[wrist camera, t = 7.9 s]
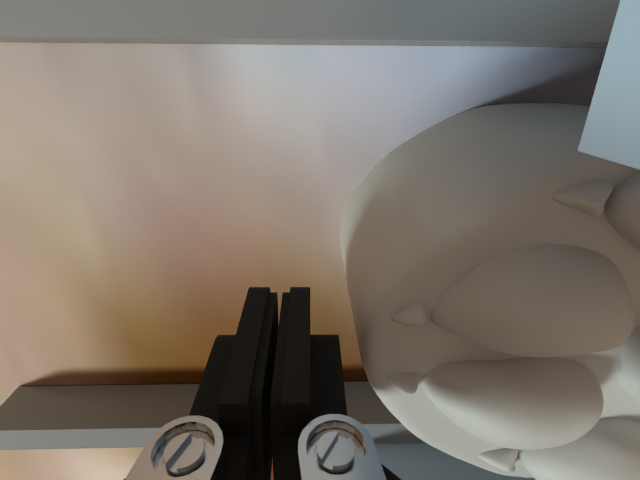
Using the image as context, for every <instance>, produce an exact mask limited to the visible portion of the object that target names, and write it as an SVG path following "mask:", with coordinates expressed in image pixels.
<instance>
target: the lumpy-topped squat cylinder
mask: <svg viewBox="0 0 640 480" xmlns="http://www.w3.org/2000/svg"><path fill="white" fill-rule="evenodd" d="M589 109H590V106H586V105H578V104H566V103H512V104H498V105H489V106H482V107H477V108H473V109H470V110H466V111H464V112H461V113H459V114H456V115H454V116H452V117H450V118H448V119H446V120H444V121H442V122H440V123H438V124H436V125H434V126H433V127H431V128H429V129H427V130H425V131H424V132H422V133H420V134H418V135H417V136H415V137H413V138H412V139H410V140H408V141H407V142H405V143H404V144H402V145H401V146H399V147H398V148H396V149H395V150H393V151H392V152H391V153H389V154H388V155H387V156H386V157H385V158H384V159H382V160H381V161H380V162H379V163H378V164H377V165H376V166H375V168H374V169H373V170H372V171H371V172H370V173H369V174H368V175H367V176H366V178H365V179H364V180H363V181H362V182H361V184H360V185H359V186H358V188H357V189H356V190H355V192H354V193H353V195H352V197H351V198H350V200H349V202H348V204H347V206H346V208H345V210H344V213H343V216H342V220H341V225H340V246H341V252H342V257H343V263H344V269H345V274H346V280H347V286H348V291H349V296H350V301H351V306H352V312H353V317H354V323H355V329H356V334H357V339H358V344H359V350H360V355H361V360H362V363H363V366H364V369H365V372H366V375H367V378H368V380H369V383H370V384H371V386H372V388H373V389H374V391H375V392H376V394H377V395H378V397H379V398H380V400H381V401H382V402H383V404H384V405H385V406H386V407H387V409H388V410H389V411H390V412H391V413H392V414H393V415H394V416H395V417H396V418H397V419H398V420H399V421H400V422H401V423H402V424H403V425H404V426H405V427H406V428H407V429H408V430H409V431H410V432H411V433H413V434H414V435H415V436H417V437H418V438H419V439H421V440H423V441H424V442H426V443H427V444H429V445H431V446H433V447H435V448H437V449H439V450H441V451H443V452H445V453H447V454H449V455H451V456H453V457H455V458H458V459H460V460H463V461H465V462H468V463H470V464H473V465H475V466H478V467H480V468H483V469H485V470H488V471H491V472H494V473H497V474H501V475H506V476H515V477H525V478H535V479H536V480H640V170H639V169H636V168H633V167H629V166H626V165H623V164H619V163H616V162H613V161H610V160H606V159H603V158H600V157H596V156H593V155H590V154H586V153H583V152H580V151H578V147H579V144H580V140H581V137H582V133H583V130H584V126H585V123H586V119H587V116H588V112H589Z"/></svg>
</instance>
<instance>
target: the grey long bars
mask: <svg viewBox="0 0 640 480" xmlns="http://www.w3.org/2000/svg"><path fill="white" fill-rule="evenodd" d="M619 3H620V0H0V42H51V43H166V44H281V45H396V46H511V47H607V45H608V42H609V38H610V35H611V31H612V28H613V24H614V21H615V17H616V14H617V10H618V7H619ZM199 385H200V384H158V385H89V386H21V387H18V388H17V389H16V390H15V391H14V392H13V393H12V395H11V396H10V397H9V398H8V399H7V400H6V401H5V402H4V403H3V404H2V405H1V407H0V450H22V449H75V448H127V447H145V445H146V444H147V442H148V441H149V440H150V439H151V437H152V436H153V435H154V433H155V432H157V431H158V430H159V429H160V428H162V427H163V426H164V425H165V424H167V423H169V422H171V421H173V420H175V419H178V418H182V417H185V416H189V414H190V411H191V408H192V405H193V402H194V399H195V396H196V393H197V391H198V388H199ZM344 388H345V398H346V407H347V416H349V417H352V418H353V419H355V420H357V421H359V422H360V423H361V424H362V425H363V426H364V427H365V428H366V429H367V430H368V432H369V434H370V435H371V437H372V439H373V442H374V443H392V442H424V441H423V440H421V439H419V438H418V437H417V436H415V435H414V434H413V433H411V432H410V431H409V430H408V429H407V428H406V427H405V426H404V425H403V424H402V423H401V422H400V421H399V420H398V419H397V418H396V417H395V416H394V415H393V414H392V413H391V412H390V411H389V410H388V409H387V407H386V406H385V405H384V404H383V402H382V401H381V400H380V398H379V397H378V395H377V394H376V392H375V391H374V389H373V388H372V386H371V384H370V383H369V381H363V382H344Z"/></svg>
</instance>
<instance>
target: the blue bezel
mask: <svg viewBox="0 0 640 480" xmlns="http://www.w3.org/2000/svg"><path fill="white" fill-rule="evenodd" d="M578 151H580V152H583V153H586V154H590V155H593V156H596V157H600V158H603V159H606V160H610V161H613V162H616V163H619V164H623V165H626V166H629V167H633V168H636V169H639V170H640V0H620V3H619V7H618V10H617V14H616V17H615V21H614V24H613V28H612V31H611V35H610V38H609V42H608V45H607V49H606V52H605V56H604V59H603V63H602V66H601V70H600V74H599V77H598V81H597V84H596V88H595V91H594V95H593V98H592V102H591V105H590V109H589V112H588V116H587V119H586V123H585V126H584V130H583V133H582V137H581V140H580V144H579V147H578ZM374 445H375V448H376V451H377V454H378V456H379V459H380V462H381V464H383V465H384V466H385V467H386V468H388V469H389V470H390V471H391V472H393V473H394V474H395V475H396V476H398V477H399V478H400V479H401V480H536V479H535V478H525V477H515V476H506V475H501V474H497V473H494V472H491V471H488V470H485V469H483V468H480V467H478V466H475V465H473V464H470V463H468V462H465V461H463V460H460V459H458V458H455V457H453V456H451V455H449V454H447V453H445V452H443V451H441V450H439V449H437V448H435V447H433V446H431V445H429V444H427V443H426V442H392V443H374Z"/></svg>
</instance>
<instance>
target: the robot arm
mask: <svg viewBox="0 0 640 480" xmlns="http://www.w3.org/2000/svg"><path fill="white" fill-rule="evenodd" d="M272 457H273V472H274V480H401V479H400V478H399V477H398V476H396V475H395V474H394V473H393V472H391V471H390V470H389V469H388V468H386V467H385V466H384V465H383V464H381V462H380V459H379V456H378V454H377V451H376V448H375V445H374V442H373V439H372V437H371V435H370V434H369V432H368V430H367V429H366V428H365V427H364V426H363V425H362V424H361V423H360V422H359V421H357V420H355V419H353V418H352V417H349V416H347V407H346V398H345V388H344V379H343V370H342V361H341V352H340V343H339V336H338V335H310V287H291V289H290V293H283V295H282V304H281V312H280V321H279V326H278V299H277V293H270V288H269V287H250V288H249V290H248V293H247V297H246V300H245V304H244V307H243V311H242V315H241V318H240V322H239V326H238V329H237V333H236V335H218V336H217V337H216V339H215V342H214V345H213V348H212V350H211V353H210V356H209V359H208V362H207V365H206V368H205V370H204V373H203V376H202V379H201V382H200V385H199V388H198V391H197V393H196V396H195V399H194V402H193V405H192V408H191V411H190V414H189V416H185V417H182V418H178V419H175V420H173V421H171V422H169V423H167V424H165V425H164V426H163V427H162V428H160V429H159V430H158V431H157V432H155V433H154V435H153V436H152V437H151V439H150V440H149V441H148V442H147V444H146V445H145V447H144V449H143V450H142V452H141V454H140V455H139V457H138V459H137V460H136V462H135V464H134V465H133V467H132V469H131V470H130V472H129V474H128V475H127V477H126V478H125V479H124V480H270V478H271V467H272Z"/></svg>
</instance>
